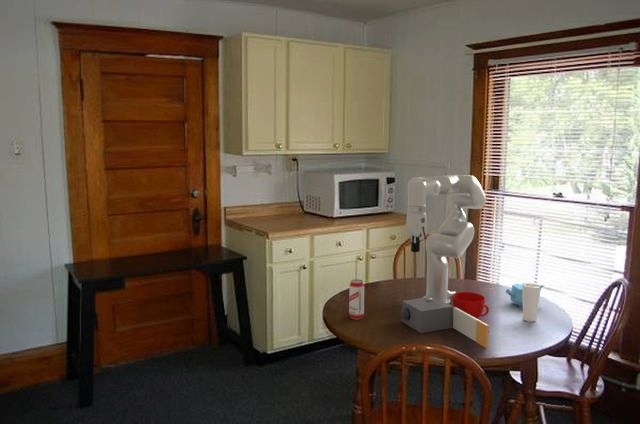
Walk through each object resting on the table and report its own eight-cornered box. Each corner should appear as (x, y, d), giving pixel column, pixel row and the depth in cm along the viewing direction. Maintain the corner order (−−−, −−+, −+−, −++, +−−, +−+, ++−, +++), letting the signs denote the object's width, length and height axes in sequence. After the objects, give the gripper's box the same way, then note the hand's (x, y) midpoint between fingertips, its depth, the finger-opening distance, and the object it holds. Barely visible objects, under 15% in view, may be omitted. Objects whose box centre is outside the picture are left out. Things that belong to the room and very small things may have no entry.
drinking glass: (530, 323, 222) (532, 288, 220) (517, 318, 228) (519, 284, 226) (541, 321, 226) (544, 286, 223) (528, 316, 231) (530, 282, 229)
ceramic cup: (476, 330, 215) (477, 306, 214) (445, 317, 230) (446, 295, 228) (498, 324, 222) (499, 300, 221) (466, 312, 236) (467, 290, 235)
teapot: (511, 310, 239) (512, 288, 237) (498, 300, 253) (499, 279, 251) (550, 309, 241) (551, 287, 239) (535, 299, 254) (536, 278, 253)
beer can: (355, 313, 234) (356, 278, 232) (366, 317, 230) (367, 281, 227) (346, 317, 230) (346, 281, 227) (357, 321, 225) (357, 284, 223)
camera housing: (431, 316, 231) (432, 294, 229) (452, 327, 218) (453, 304, 217) (398, 322, 224) (399, 299, 223) (418, 333, 212) (418, 309, 210)
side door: (451, 327, 218) (452, 307, 216) (454, 326, 218) (455, 306, 217) (485, 347, 198) (486, 325, 196) (488, 347, 198) (489, 325, 197)
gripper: (434, 211, 224) (432, 254, 227) (414, 206, 238) (412, 247, 240) (419, 212, 221) (417, 256, 224) (399, 207, 235) (398, 248, 237)
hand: (415, 251), depth 232 cm, fingers closed
